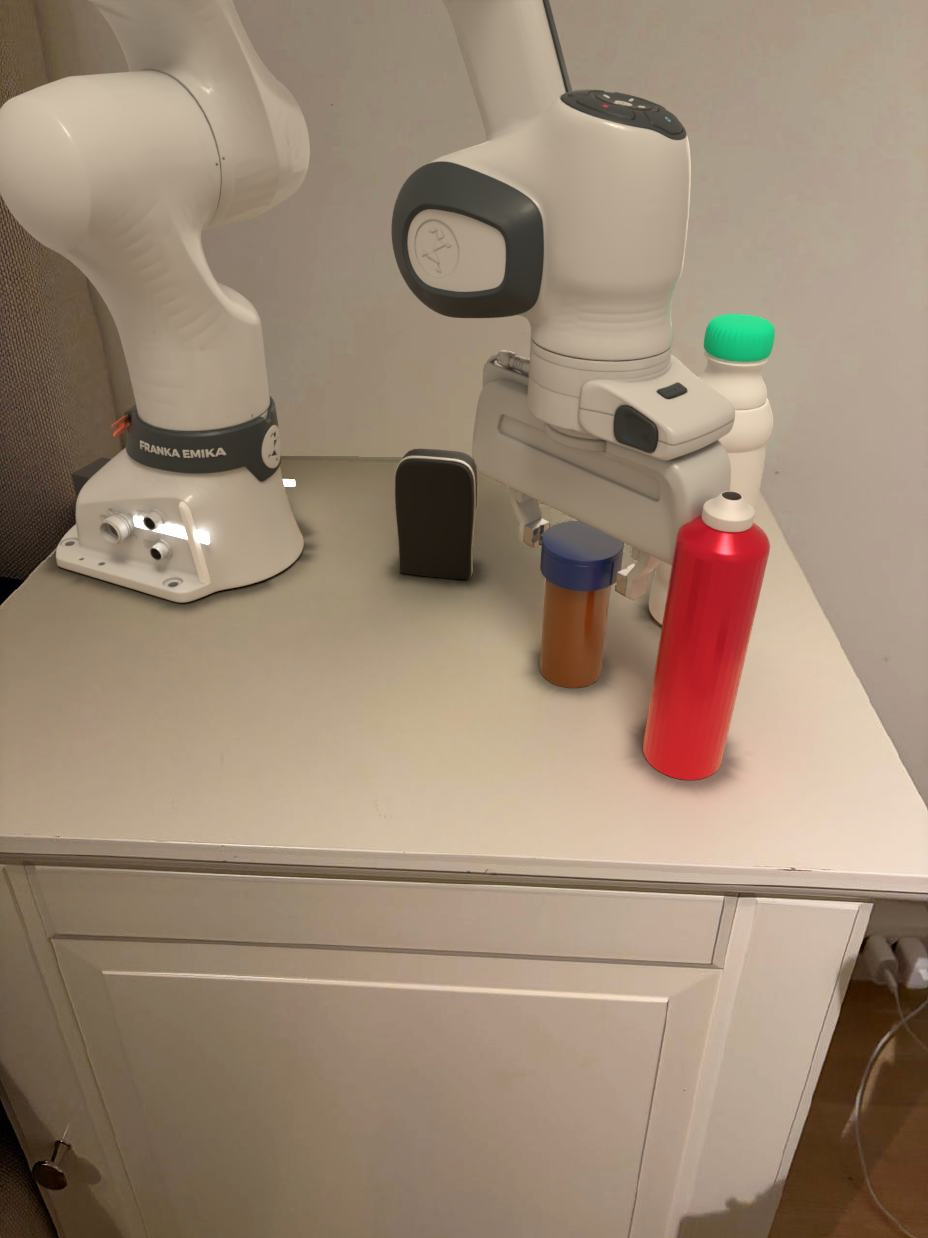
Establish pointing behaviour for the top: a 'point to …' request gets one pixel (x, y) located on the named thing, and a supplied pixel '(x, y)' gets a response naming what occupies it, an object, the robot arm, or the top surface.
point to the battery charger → (436, 513)
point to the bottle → (705, 637)
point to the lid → (580, 557)
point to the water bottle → (735, 375)
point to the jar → (573, 635)
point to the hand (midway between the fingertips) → (579, 567)
